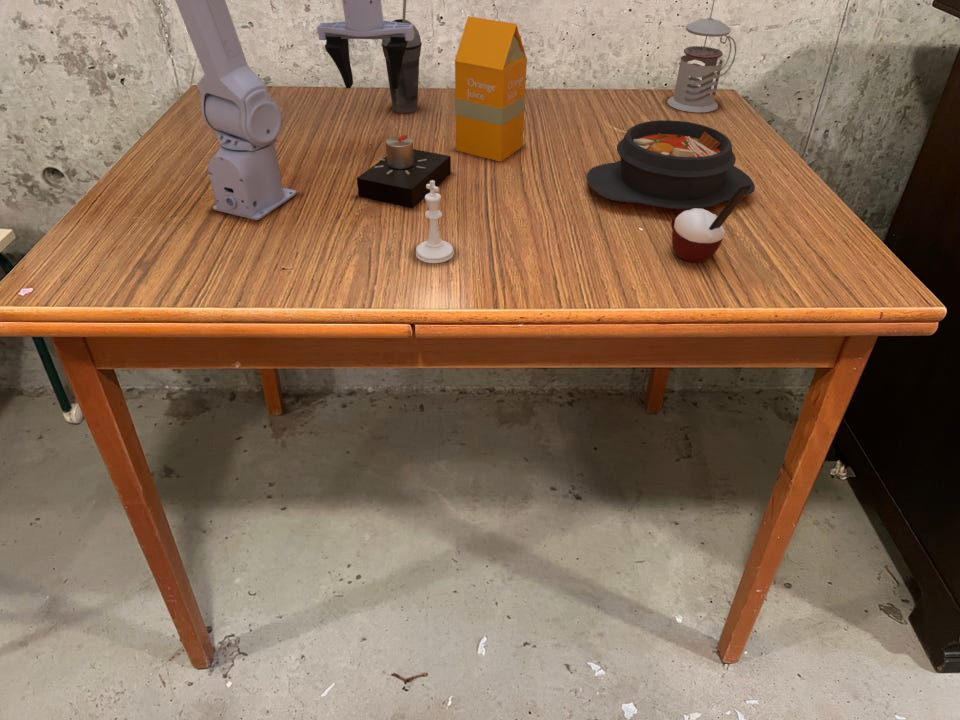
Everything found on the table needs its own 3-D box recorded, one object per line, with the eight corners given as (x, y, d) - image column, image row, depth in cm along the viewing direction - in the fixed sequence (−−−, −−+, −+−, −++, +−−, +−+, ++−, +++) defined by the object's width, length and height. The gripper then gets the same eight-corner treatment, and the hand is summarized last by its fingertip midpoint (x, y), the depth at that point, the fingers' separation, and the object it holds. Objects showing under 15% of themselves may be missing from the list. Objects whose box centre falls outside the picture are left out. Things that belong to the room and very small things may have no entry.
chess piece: (433, 240, 92) (431, 169, 85) (461, 252, 89) (461, 180, 83) (407, 254, 89) (403, 182, 82) (436, 267, 86) (433, 194, 80)
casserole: (722, 163, 112) (735, 112, 107) (773, 217, 98) (790, 160, 93) (573, 169, 110) (578, 117, 105) (602, 225, 96) (610, 167, 90)
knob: (406, 171, 101) (404, 146, 99) (382, 166, 103) (380, 141, 100) (418, 161, 104) (417, 136, 102) (395, 156, 105) (393, 132, 103)
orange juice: (478, 135, 120) (480, 11, 108) (523, 146, 117) (529, 18, 104) (454, 150, 115) (453, 21, 103) (500, 162, 112) (504, 29, 99)
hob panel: (412, 208, 99) (411, 188, 97) (355, 196, 102) (352, 176, 100) (451, 174, 108) (450, 154, 106) (397, 163, 111) (396, 144, 109)
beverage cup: (380, 105, 132) (371, -11, 119) (416, 100, 134) (411, -14, 122) (393, 117, 127) (385, -3, 114) (430, 112, 129) (426, -6, 117)
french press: (658, 97, 137) (683, -46, 121) (708, 92, 140) (739, -49, 124) (683, 114, 130) (713, -36, 114) (736, 109, 133) (772, -39, 117)
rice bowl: (659, 240, 92) (676, 154, 85) (704, 238, 93) (725, 153, 85) (681, 278, 85) (703, 188, 78) (730, 276, 86) (756, 186, 78)
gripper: (414, -14, 103) (421, 77, 112) (320, -15, 105) (335, 76, 114) (405, -1, 98) (413, 94, 107) (306, -1, 99) (323, 92, 109)
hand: (372, 86), depth 110 cm, fingers open, 7 cm apart
